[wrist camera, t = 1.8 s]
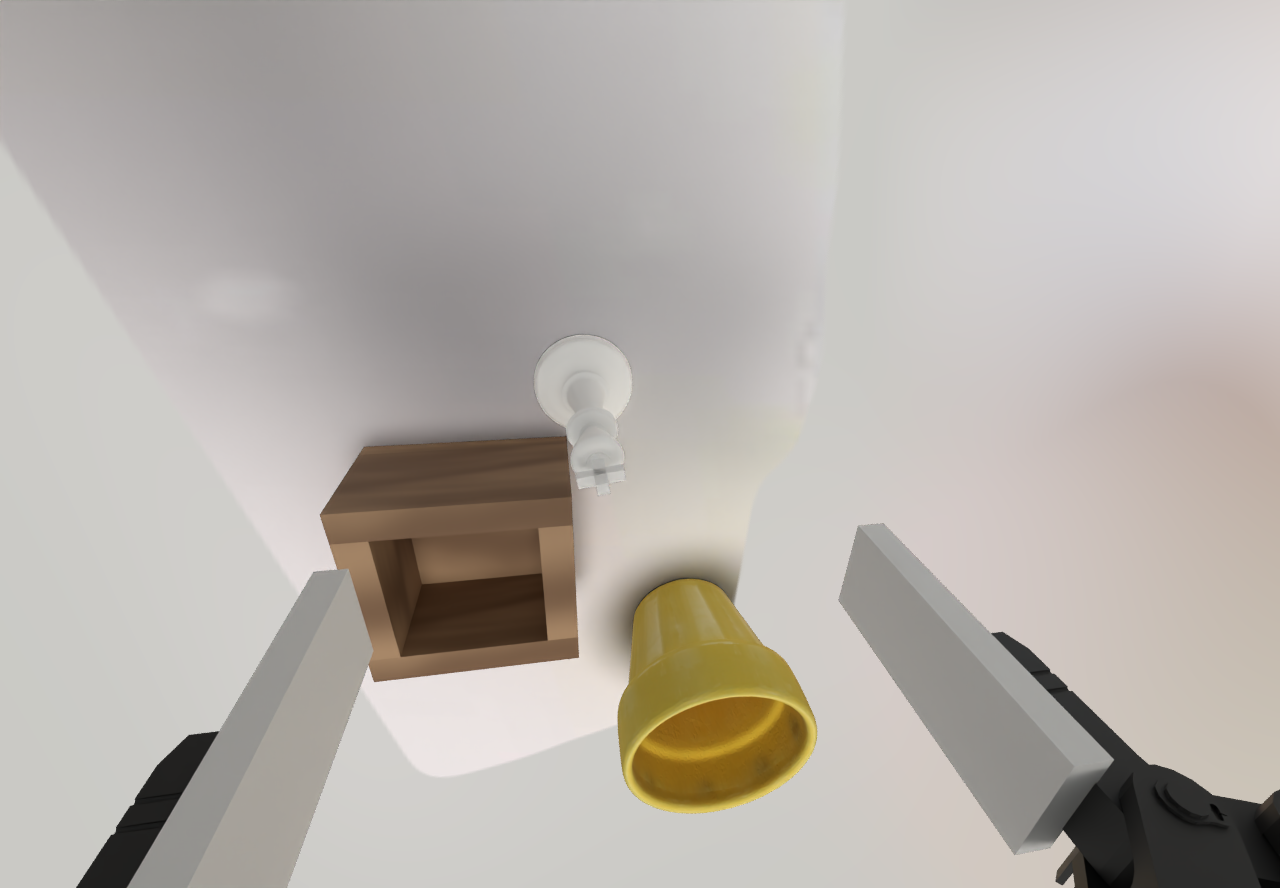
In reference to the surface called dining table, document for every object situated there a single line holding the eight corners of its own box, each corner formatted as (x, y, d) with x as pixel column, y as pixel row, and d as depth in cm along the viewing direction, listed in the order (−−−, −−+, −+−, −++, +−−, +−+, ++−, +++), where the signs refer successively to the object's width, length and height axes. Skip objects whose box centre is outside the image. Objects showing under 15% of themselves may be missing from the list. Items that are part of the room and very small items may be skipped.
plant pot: (602, 675, 36) (619, 830, 28) (604, 561, 32) (627, 705, 23) (742, 660, 38) (799, 802, 29) (764, 550, 33) (840, 680, 25)
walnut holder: (365, 445, 26) (319, 514, 21) (566, 434, 27) (571, 496, 22) (403, 594, 30) (374, 682, 25) (573, 578, 32) (578, 657, 27)
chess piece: (523, 343, 25) (512, 438, 16) (625, 326, 25) (668, 410, 16) (544, 434, 27) (545, 559, 18) (637, 417, 27) (680, 532, 19)
